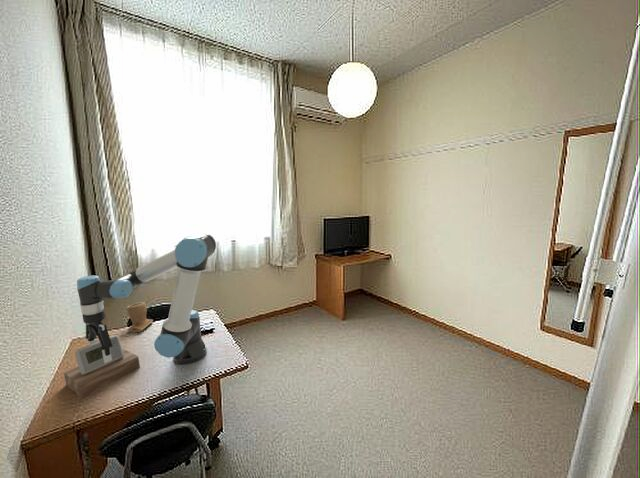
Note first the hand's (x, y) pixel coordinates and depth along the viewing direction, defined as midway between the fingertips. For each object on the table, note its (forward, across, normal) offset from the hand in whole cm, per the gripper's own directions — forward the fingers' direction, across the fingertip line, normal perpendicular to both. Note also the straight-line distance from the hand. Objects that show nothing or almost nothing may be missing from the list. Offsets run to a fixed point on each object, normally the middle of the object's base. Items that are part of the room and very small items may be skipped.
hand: (101, 357), depth 124 cm
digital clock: (+3, -1, 0) cm, 3 cm away
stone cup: (+9, +35, -33) cm, 49 cm away
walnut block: (+9, 0, 0) cm, 9 cm away
